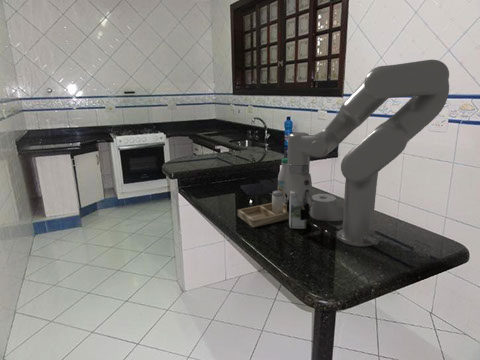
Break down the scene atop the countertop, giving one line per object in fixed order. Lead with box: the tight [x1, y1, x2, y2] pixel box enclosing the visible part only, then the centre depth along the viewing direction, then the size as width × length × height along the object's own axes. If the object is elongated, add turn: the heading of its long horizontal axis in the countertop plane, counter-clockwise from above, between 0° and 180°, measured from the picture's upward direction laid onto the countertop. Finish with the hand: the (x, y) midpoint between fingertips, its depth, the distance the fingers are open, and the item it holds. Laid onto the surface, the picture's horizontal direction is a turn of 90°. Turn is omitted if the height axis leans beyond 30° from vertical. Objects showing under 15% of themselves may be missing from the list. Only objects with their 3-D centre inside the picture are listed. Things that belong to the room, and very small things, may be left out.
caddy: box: [236, 202, 289, 228], centre depth 128 cm, size 13×20×4 cm, turn 116°
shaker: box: [271, 191, 283, 214], centre depth 129 cm, size 4×4×9 cm
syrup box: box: [288, 190, 307, 229], centre depth 118 cm, size 6×6×14 cm
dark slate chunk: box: [240, 177, 278, 197], centre depth 165 cm, size 15×22×5 cm
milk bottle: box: [277, 157, 288, 204], centre depth 144 cm, size 8×8×20 cm
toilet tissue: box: [309, 193, 344, 222], centre depth 126 cm, size 9×13×9 cm
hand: (297, 215), depth 118 cm, fingers closed on syrup box, 7 cm apart
